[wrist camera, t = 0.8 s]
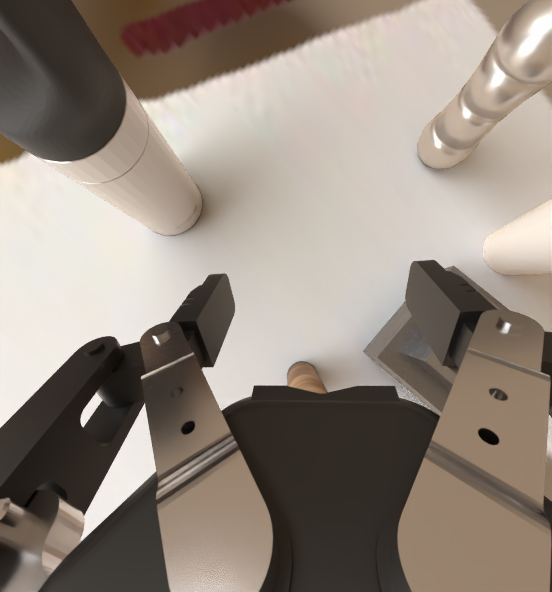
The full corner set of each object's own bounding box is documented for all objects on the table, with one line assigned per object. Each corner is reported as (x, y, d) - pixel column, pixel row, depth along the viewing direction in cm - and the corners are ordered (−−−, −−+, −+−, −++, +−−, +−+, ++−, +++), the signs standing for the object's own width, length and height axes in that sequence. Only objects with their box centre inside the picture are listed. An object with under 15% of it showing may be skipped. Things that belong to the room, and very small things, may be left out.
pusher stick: (281, 377, 34) (278, 422, 20) (300, 355, 34) (311, 383, 20) (303, 397, 33) (317, 457, 19) (323, 375, 34) (350, 418, 20)
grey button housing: (363, 351, 34) (389, 363, 25) (429, 273, 34) (476, 259, 26) (446, 422, 32) (504, 460, 24) (513, 341, 33) (592, 350, 24)
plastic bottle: (427, 123, 36) (608, -121, 16) (468, 148, 35) (709, -71, 15) (402, 158, 35) (553, -43, 15) (443, 184, 35) (655, 10, 15)
